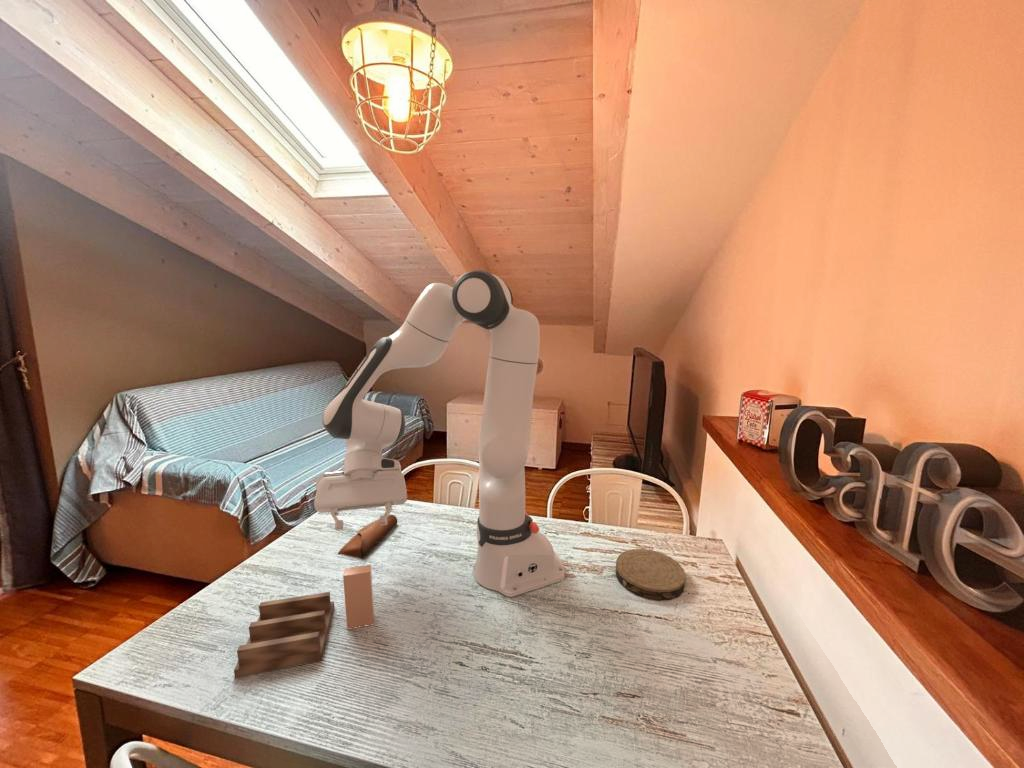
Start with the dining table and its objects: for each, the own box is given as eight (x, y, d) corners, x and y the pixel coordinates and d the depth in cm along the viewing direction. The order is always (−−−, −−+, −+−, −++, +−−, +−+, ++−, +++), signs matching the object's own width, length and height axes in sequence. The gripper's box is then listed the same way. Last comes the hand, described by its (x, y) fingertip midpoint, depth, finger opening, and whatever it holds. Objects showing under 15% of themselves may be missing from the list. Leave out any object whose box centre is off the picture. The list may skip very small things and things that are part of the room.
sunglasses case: (372, 520, 124) (381, 504, 122) (391, 533, 123) (400, 517, 121) (335, 554, 106) (345, 536, 105) (356, 570, 106) (367, 552, 104)
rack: (334, 607, 88) (332, 588, 87) (321, 660, 74) (319, 639, 73) (261, 619, 84) (259, 600, 83) (234, 677, 71) (231, 655, 70)
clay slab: (374, 616, 85) (370, 564, 83) (373, 624, 83) (369, 571, 81) (348, 620, 84) (344, 568, 82) (347, 629, 82) (343, 575, 80)
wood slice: (644, 552, 109) (645, 542, 108) (699, 586, 96) (700, 574, 95) (601, 572, 100) (602, 561, 100) (654, 612, 87) (655, 599, 87)
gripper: (314, 467, 93) (308, 528, 86) (405, 460, 99) (407, 517, 91) (319, 478, 99) (314, 536, 91) (406, 470, 104) (408, 525, 96)
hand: (361, 526), depth 91 cm, fingers open, 8 cm apart
